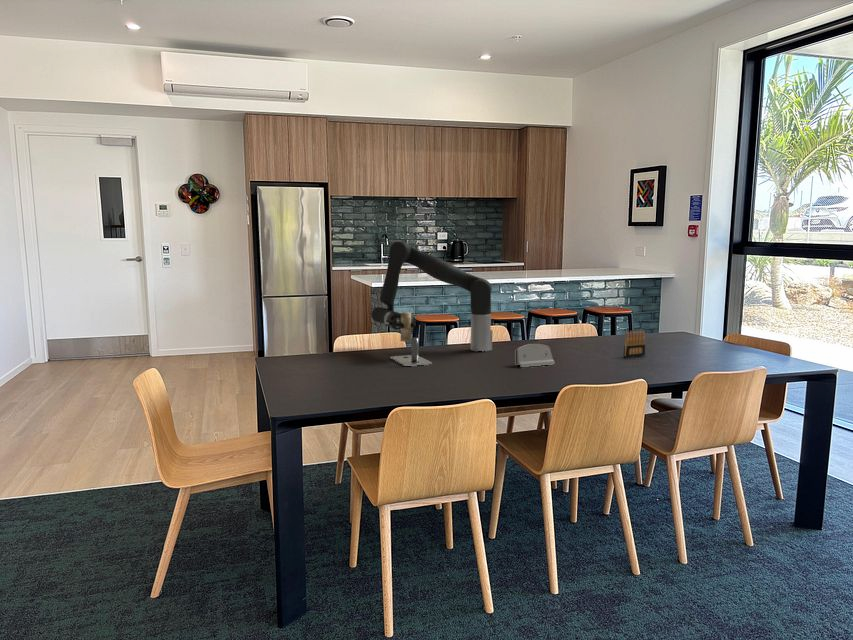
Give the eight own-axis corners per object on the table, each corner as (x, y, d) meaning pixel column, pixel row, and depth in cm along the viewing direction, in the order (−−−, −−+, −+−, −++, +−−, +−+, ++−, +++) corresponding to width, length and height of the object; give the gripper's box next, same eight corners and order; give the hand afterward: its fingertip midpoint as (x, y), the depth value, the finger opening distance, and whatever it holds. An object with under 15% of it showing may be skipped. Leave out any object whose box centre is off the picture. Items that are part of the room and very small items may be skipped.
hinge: (520, 368, 254) (517, 344, 256) (515, 369, 258) (511, 346, 260) (556, 365, 260) (552, 341, 262) (550, 366, 264) (546, 343, 266)
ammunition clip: (626, 357, 276) (627, 330, 275) (623, 356, 278) (624, 330, 276) (645, 355, 280) (646, 329, 279) (642, 355, 282) (643, 328, 280)
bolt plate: (415, 356, 277) (415, 332, 275) (431, 364, 260) (432, 338, 259) (390, 358, 272) (390, 334, 270) (405, 367, 256) (405, 340, 254)
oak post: (408, 339, 272) (408, 312, 271) (412, 341, 268) (412, 313, 267) (399, 340, 271) (399, 312, 269) (402, 341, 267) (403, 314, 265)
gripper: (379, 312, 278) (392, 317, 263) (409, 311, 284) (423, 316, 268) (379, 329, 279) (392, 335, 264) (409, 327, 285) (423, 333, 269)
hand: (408, 325), depth 266 cm, fingers closed on oak post, 4 cm apart
